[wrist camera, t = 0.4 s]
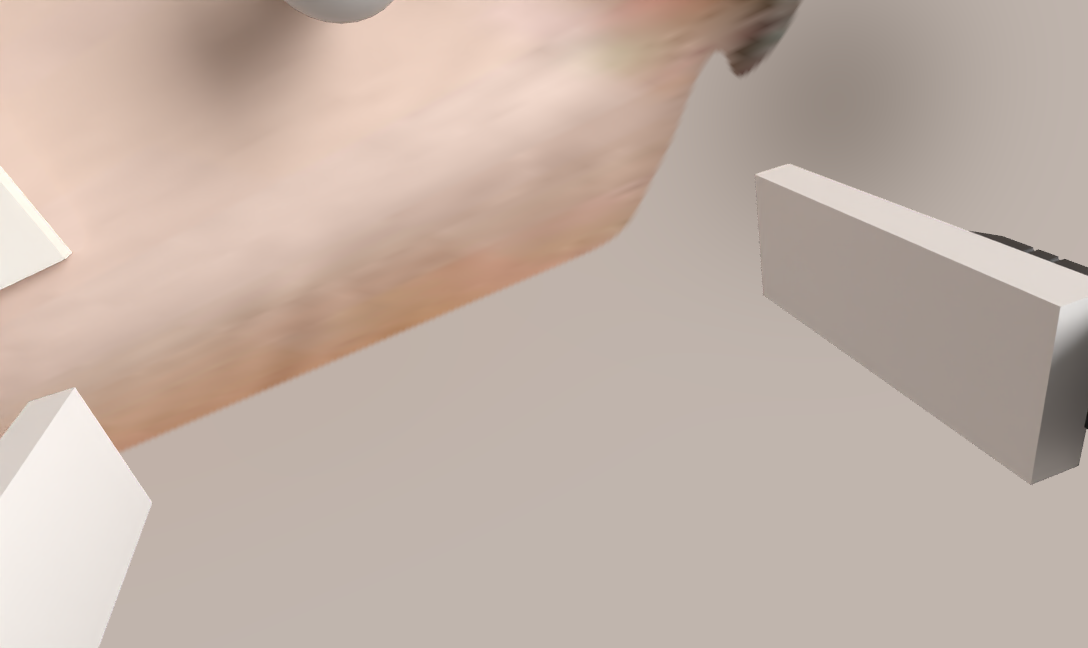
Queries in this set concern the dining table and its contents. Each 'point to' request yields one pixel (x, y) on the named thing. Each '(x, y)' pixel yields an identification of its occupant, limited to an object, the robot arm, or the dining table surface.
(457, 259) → the dining table surface
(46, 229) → the rail
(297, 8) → the lightbulb
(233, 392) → the dining table surface
